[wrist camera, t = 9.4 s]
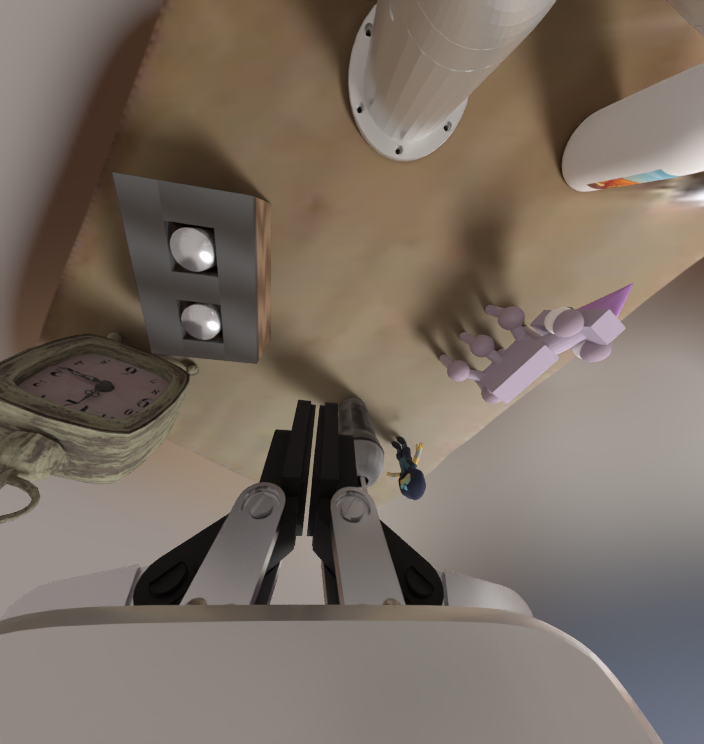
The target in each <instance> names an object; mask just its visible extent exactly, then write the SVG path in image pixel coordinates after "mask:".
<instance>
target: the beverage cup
mask: <svg viewBox="0 0 704 744" xmlns="http://www.w3.org/2000/svg"><path fill="white" fill-rule="evenodd" d="M338 434H343V435H353V437H354V447H355V458H356V469H357V480H358V488H360V489H363V490H364V491H365V492H367V488H368V487H369V486H371V485H373V484H374V483H375V482H376V481H377V480H378V479H379V477H380V475H381V473H382V471H383V466H384V451H383V449H382V447H381V446H380V443H379V441H378V439H377V438H376V435H375V432H374V429H373V426H372V423H371V420H370V417H369V414H368V411H367V408H366V406H365V404H364V402H363V401H362V400H361V399H359V398H348V399H346V400H344V401H343V402H342V403H341V405H340V411H339V416H338ZM367 493H368V492H367Z"/></svg>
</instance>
